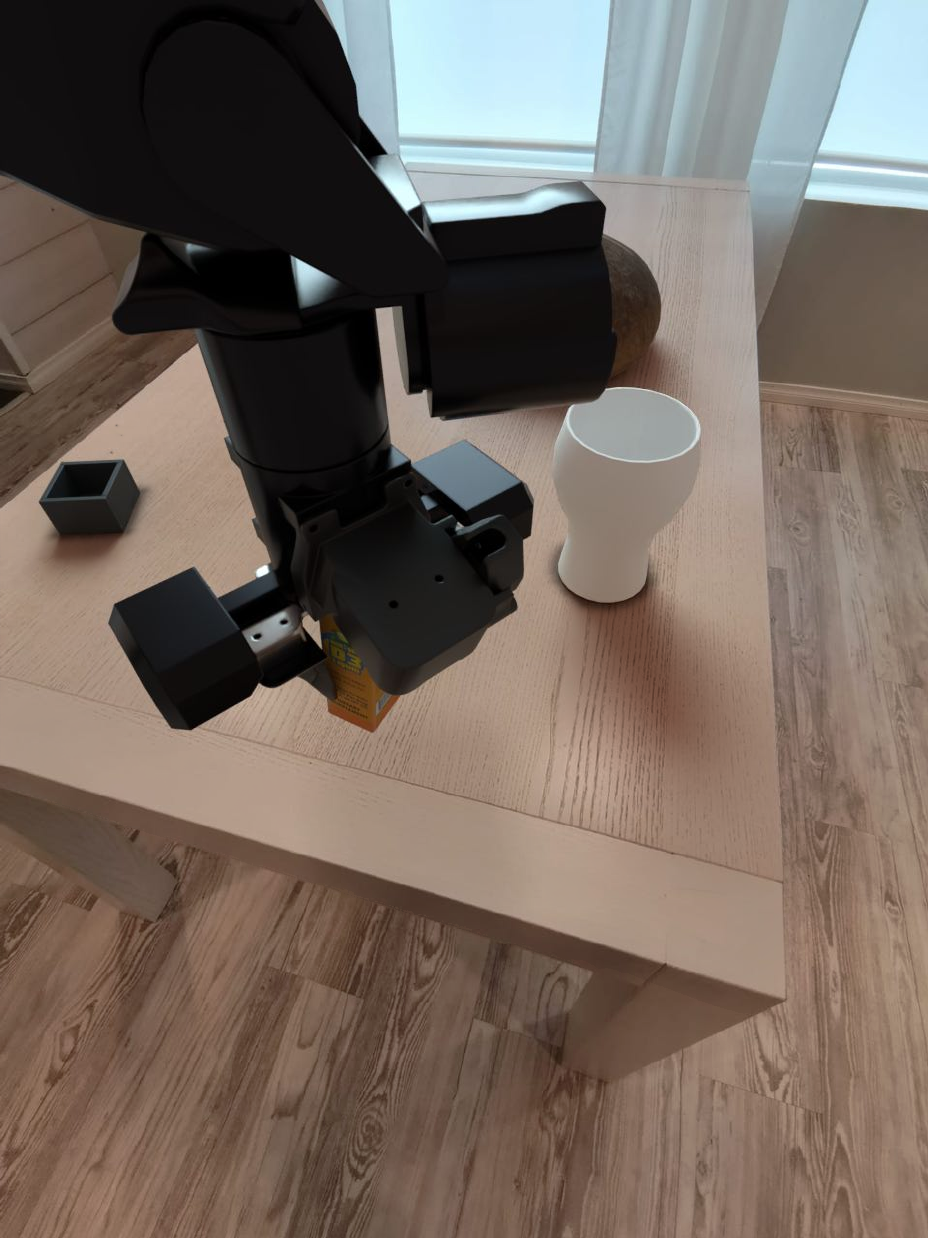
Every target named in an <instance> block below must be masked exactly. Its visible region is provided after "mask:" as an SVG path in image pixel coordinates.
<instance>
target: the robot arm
mask: <svg viewBox="0 0 928 1238" xmlns="http://www.w3.org/2000/svg"><path fill="white" fill-rule="evenodd" d="M358 99H359V98H358V89H357V83H356V81H355V78H354V75H353V72H352V69H351V66H350V64H349V62H348V58H347V56H346V53H345V50H344V47H343V44H342V41H341V39H340V36H339V33H338V32H337V29H336V27H335V24H334V23H333V21H332V18H331V15H330V14H329V10H328V9H327V8H326V4H325V3H324V1H323V0H0V176H1V177H4V178H7V179H10V180H13V181H15V182H17V183H19V184H21V185H24V186H25V187H27V188H30V189H32V190H34V191H36V192H38V193H40V194H43V195H45V196H47V197H49V198H51V199H53V200H55V201H57V202H59V203H61V204H63V205H66V206H67V207H70V208H72V209H74V210H76V211H79V212H81V213H82V214H84V215H87V216H89V217H90V218H94V219H96V220H98V221H101V222H105V223H109V224H112V225H117V226H120V227H124V228H128V229H132V230H136V231H140V232H142V234H141V237H140V241H139V251H138V252H137V254H136V255H135V257H134V258H133V259H132V261H130V262H129V264H127V267H125V271H124V274H123V277H122V281H121V284H120V286H119V290H118V293H117V296H116V299H115V303H114V305H113V310H112V312H111V317H110V318H111V322H112V325H113V326H114V328H115V329H116V330H117V331H118V332H120V333H121V334H123V335H125V336H140V335H141V336H142V335H150V334H158V333H159V334H161V333H168V332H169V333H170V332H180V331H190V330H193V333H194V336H195V339H196V341H197V345H198V348H199V352H200V354H201V357H202V360H203V363H204V366H205V370H206V372H207V374H208V378H209V380H210V383H211V387H212V390H213V393H214V395H215V399H216V402H217V405H218V408H219V411H220V413H221V416H222V420H223V423H224V426H225V429H226V431H227V435H228V436H225V437H223V440H224V444H225V446H226V449H227V452H228V455H229V457H230V460H231V462H233V463H234V464H235V466H236V467H237V468H238V469H239V471H240V474H241V476H242V479H243V483H244V485H245V489H246V491H247V495H248V497H249V500H250V504H251V506H252V509H253V513H254V515H255V517H254V518H251V522H252V524H253V528H254V531H255V534H256V536H257V538H258V539H259V540H260V541H261V542H262V544H263V545H264V546H265V548H266V551H267V554H268V557H269V560H270V562H268V563H267V564H264V565H262V566H260V567H258V568H256V570H254V572H253V574H254V576H255V578H254V579H253V580H251V581H249V582H247V583H245V584H243V585H240V586H239V587H237V588H234V589H232V590H230V591H229V592H227V593H225V594H223V595H221V596H219V597H217V595H216V594H215V593H214V591H213V590H212V588H211V587H210V586H209V584H208V583H207V581H206V580H205V579H204V577H203V576H202V575H201V573H200V572H199V570H197V569H198V568H196V566H191V567H190V568H189V567H188V568H187V569H185V570H183V571H181V572H179V573H177V574H174V575H172V576H170V577H167V578H165V579H164V580H162V581H160V582H157V583H156V584H153V585H151V586H149V587H147V588H145V589H143V590H141V591H138V592H136V593H134V594H132V595H130V596H128V597H125V598H124V599H121V600H119V601H117V602H115V603H113V606H112V609H111V613H110V615H109V618H108V622H107V624H108V626H109V627H110V630H111V631H112V633H113V634H114V636H115V639H116V640H117V642H118V643H119V645H120V647H121V649H122V651H123V652H124V654H125V656H126V658H127V659H128V661H129V663H130V664H131V667H132V668H133V670H134V672H135V674H136V676H137V677H138V679H139V681H140V683H141V684H142V686H143V688H144V689H145V691H146V693H147V694H148V696H149V698H150V699H151V701H152V703H153V704H154V705H155V707H156V709H157V710H158V712H159V713H160V714H161V716H162V718H163V719H164V720H165V722H166V723H167V724H168V726H169V727H170V729H171V730H172V729H173V730H180V731H193V730H194V729H197V728H199V727H200V726H201V725H203V724H205V723H208V722H209V721H210V720H212V719H214V718H216V717H217V716H219V715H221V714H222V713H224V712H226V711H228V710H230V709H231V708H233V707H235V706H237V705H238V704H240V703H242V702H244V701H245V700H247V699H248V698H250V697H252V696H253V694H254V693H255V691H256V689H257V687H258V686H259V685H260V686H262V687H264V688H267V689H277V688H280V687H281V686H283V685H285V684H287V683H289V682H291V681H292V680H293V679H295V678H299V679H301V680H303V681H305V682H306V683H308V684H309V685H310V686H312V688H314V689H315V690H316V691H317V692H318V693H320V694H321V695H322V696H324V697H325V698H326V700H327V699H329V700H330V701H331V702H333V701H334V700H336V699H337V698H338V694H337V688H336V685H335V682H334V680H333V678H332V676H331V674H330V672H329V670H328V668H327V666H326V664H325V662H324V661H325V660H327V659H328V657H327V655H326V654H325V653H324V652H323V650H322V647H321V646H320V645H319V644H318V643H317V641H316V639H314V638H313V637H312V635H310V633H309V632H308V631H307V629H306V628H305V627H304V623H303V620H304V618H305V617H307V616H309V617H310V618H311V619H312V620H313V622H315V623H317V622H319V620H320V619H322V618H324V617H326V616H328V615H332V617H333V620H334V622H335V624H336V625H337V627H338V628H339V630H340V631H341V633H342V634H343V636H344V637H345V638H346V640H347V641H348V643H349V644H350V646H351V647H352V649H353V650H354V651H355V653H356V654H357V656H358V657H359V659H360V660H361V662H362V663H363V664H364V666H365V667H366V669H367V671H368V673H369V675H370V677H371V678H372V680H373V681H374V683H375V684H376V685H377V686H378V688H380V689H381V690H382V691H384V692H385V693H388V694H390V695H400V696H404V695H408V694H410V693H411V692H413V691H415V690H416V689H418V688H420V687H421V686H422V685H423V684H425V683H426V682H427V681H429V680H431V679H432V678H433V677H435V676H437V675H438V674H440V673H442V672H443V671H445V670H446V669H448V668H449V667H451V666H453V665H454V664H456V663H458V662H459V661H462V660H463V659H465V658H467V657H469V656H470V655H471V654H472V653H473V652H474V651H475V650H476V648H477V647H478V645H479V644H480V642H481V640H482V639H483V637H484V635H485V633H486V632H487V630H488V629H489V628H491V627H493V626H494V625H496V624H498V623H499V622H501V621H503V620H504V619H506V618H507V617H509V616H510V615H512V614H513V613H515V612H517V610H518V608H519V606H518V602H517V599H516V597H515V593H514V591H516V590H517V589H518V587H519V585H520V584H521V583H522V581H523V579H524V577H525V555H524V552H525V551H524V541H525V540H526V539H528V538H530V537H532V530H533V518H534V507H535V499H534V497H533V494H532V492H531V490H530V488H529V486H528V483H526V482H525V481H524V480H522V479H521V478H519V477H518V476H517V475H515V474H514V473H512V471H510V470H508V469H507V468H506V467H504V466H503V465H501V464H500V463H499V462H498V461H496V460H495V459H493V458H492V457H491V456H489V455H488V454H487V453H485V452H484V451H482V450H481V449H480V448H478V447H477V446H475V445H474V444H472V442H469V441H468V440H466V439H462V440H460V441H458V442H455V443H453V444H451V445H449V446H447V447H445V448H442V449H440V450H439V451H436V452H434V453H432V454H429V455H428V456H426V457H424V458H422V459H419V460H417V461H415V462H412V459H411V458H410V457H408V456H407V455H406V454H404V453H403V452H402V451H401V450H400V449H398V448H397V447H396V446H395V445H393V444H392V438H391V429H390V421H389V413H388V405H387V396H386V388H385V387H386V386H385V378H384V370H383V369H384V368H383V360H382V351H381V343H380V335H379V325H378V318H377V309H385V308H387V309H388V308H391V310H392V320H393V329H394V330H393V331H394V337H395V344H396V351H397V358H398V364H399V370H400V375H401V380H402V384H403V388H404V392H405V394H406V395H407V396H413V395H420V394H423V392H424V391H426V400H427V406H428V407H427V408H428V414H429V417H430V419H434V418H439V420H441V421H442V422H448V421H456V420H462V419H472V418H479V417H486V416H488V417H489V416H495V415H496V416H497V415H502V414H504V415H505V414H511V413H519V412H525V411H526V412H527V411H533V410H534V411H535V410H542V409H543V410H544V409H550V408H559V407H566V406H572V405H575V404H583V403H591V402H594V401H596V400H598V399H599V398H600V396H601V395H602V394H603V392H604V391H605V389H607V387H608V385H609V382H610V379H611V378H610V377H611V373H612V369H613V365H614V361H615V355H616V348H617V334H616V331H615V330H614V329H613V327H612V317H613V314H612V292H611V284H610V277H609V269H608V265H607V261H606V257H605V253H604V249H603V246H602V237H603V234H604V230H605V222H606V213H607V206H606V204H605V203H604V201H602V200H601V198H599V196H597V195H596V193H594V192H593V191H592V189H590V187H589V186H587V184H586V183H584V181H582V180H576V181H564V182H554V183H548V184H543V185H540V186H538V187H535V188H533V189H529V190H528V191H524V192H518V193H511V194H510V193H509V194H497V195H486V196H484V195H483V196H474V197H473V196H472V197H461V198H447V199H438V200H437V199H436V200H426V201H425V200H424V201H422V200H421V198H420V196H419V193H418V191H417V190H416V187H415V184H414V182H413V181H412V179H411V176H410V175H409V172H408V170H407V168H406V166H405V164H404V162H403V159H402V158H401V155H400V154H398V153H389V152H388V151H387V149H386V147H385V146H384V145H383V144H382V142H381V141H380V140H379V138H378V137H377V136H376V134H375V133H374V131H373V130H372V129H371V128H370V126H369V125H368V124H367V123H366V122H365V120H364V118H363V117H362V115H361V114H360V111H359V110H360V109H359V100H358ZM458 523H459V524H460V525H461V526H460V525H459V524H458Z"/></svg>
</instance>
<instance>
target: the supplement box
mask: <svg viewBox="0 0 928 1238" xmlns="http://www.w3.org/2000/svg"><path fill="white" fill-rule="evenodd" d="M318 623H319V625H318V626H319V634H320V643H321V649H322V650H323V652H324V653H325V654H326V655H327V657H328V659H327V660H325V661H324V662H325V664H326V666H327V668H328V670H329V672H330V674H331V676H332V678H333V680H334V682H335V685H336V688H337V694H338V698H337V699H336V700H334V701H333V702H331V701H330V700H329V699H327V698H326V703H327V713H329V714H330V715H332V716H335V717H337V718H338V719H341V720H343V721H345V722H347V723H350V724H352V725H354V726H355V727H358V728H360V729H362V730H364V731H367V732H369V733H371V734H374V733H375V732H376V730H377V729H378V727H379V726H380V725H381V724H382V722H383V720H384V719H385V718H386V717H387V715H388V714H389V713H390V711H391V710H392V708H393V707H394V705H395V704H396V703H397V702H398V700H399V699H400V697H401V695H390V694H388V693H385V692H384V691H382V690H381V689H380V688H378V686H377V685H376V684H375V683H374V681H373V680H372V678H371V677H370V675H369V673H368V671H367V669H366V667H365V666H364V664H363V663H362V662H361V660H360V659H359V657H358V656H357V654H356V653H355V651H354V650H353V649H352V647H351V646H350V644H349V643H348V641H347V640H346V638H345V637H344V636H343V634H342V633H341V631H340V630H339V628H338V627H337V625H336V624H335V622H334V620H333V617H332V615H328V616H326V617H324V618H322V619H320V620H318Z"/></svg>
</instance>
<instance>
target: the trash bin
mask: <svg viewBox="0 0 928 1238" xmlns="http://www.w3.org/2000/svg"><path fill="white" fill-rule="evenodd" d="M140 493H141V491H140V488H139V486H138V485H137V483H136V481H135V479H134V477H133V475H132V473H131V471H130V469H129V467H128V465H127V463H126V461H125V459H123V458H122V459H121V458H120V459H100V460H99V459H97V460H78V461H76V460H75V461H61V462H60V464H59V466H58V467H57V469H56V470H55V472H54V474H53V475H52V477H51V479H50V481H49V482H48V485H47V486H46V488H45V490H44V492H43V493H42V495H41V497H40V499H39V500H38V504H39V506H40V507H41V508H42V510H43V511H44V513H45V515H46V516H47V517H48V519H49V521H50V522H51V524H52V525H53V526H54V528H55V529H56V531H57V533H58V534H59V535H60V536H62V535H63V536H64V535H65V536H66V535H82V534H85V535H86V534H105V533H106V534H107V533H124V531H125V529H126V526H127V524H128V521H129V519H130V517H131V514H132V512H133V509H134V508H135V505H136V503H137V500H138V498H139V496H140Z"/></svg>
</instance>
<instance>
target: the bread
mask: <svg viewBox="0 0 928 1238" xmlns="http://www.w3.org/2000/svg"><path fill="white" fill-rule="evenodd" d="M602 246H603V249H604V253H605V257H606V261H607V265H608V269H609V277H610V284H611V292H612V314H613V317H612V327H613V329H614V330H615V331H616V334H617V348H616V355H615V361H614V365H613V369H612V373H611V377H610V379H612V378H614V377H616V376H619V375H621V374H623V373H624V372H625V371H626V370H628V369H630V368H631V367H632V366H633V365H634V364H636V363H637V362H639V361H640V360H641V359H642V358H643V357H644V355H645V354H646V353H647V352H648V350H649V349H650V347H651V345H652V343H653V341H654V339H655V337H656V335H657V332H658V330H659V329H660V328H659V327H660V323H661V317H662V297H661V293H660V289H659V285H658V282H657V280H656V278H655V276H654V274H653V272H652V271H651V269H650V267H649V265H648V264H647V263H646V261H645V260H644V259H643V258H642V257H641V256H640V255H639V254H638V253H637V252H636V250H634V249H632V248H631V247H629V246H628V245H627V244H625V243H623V242H621V241H619V240H618V239H615V238H614V237H611V236H610V235H608V234H605V233H603V237H602Z"/></svg>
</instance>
